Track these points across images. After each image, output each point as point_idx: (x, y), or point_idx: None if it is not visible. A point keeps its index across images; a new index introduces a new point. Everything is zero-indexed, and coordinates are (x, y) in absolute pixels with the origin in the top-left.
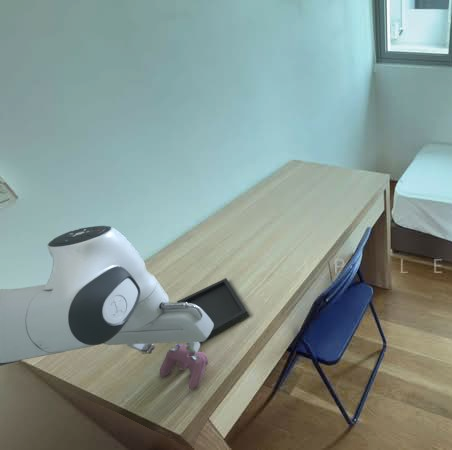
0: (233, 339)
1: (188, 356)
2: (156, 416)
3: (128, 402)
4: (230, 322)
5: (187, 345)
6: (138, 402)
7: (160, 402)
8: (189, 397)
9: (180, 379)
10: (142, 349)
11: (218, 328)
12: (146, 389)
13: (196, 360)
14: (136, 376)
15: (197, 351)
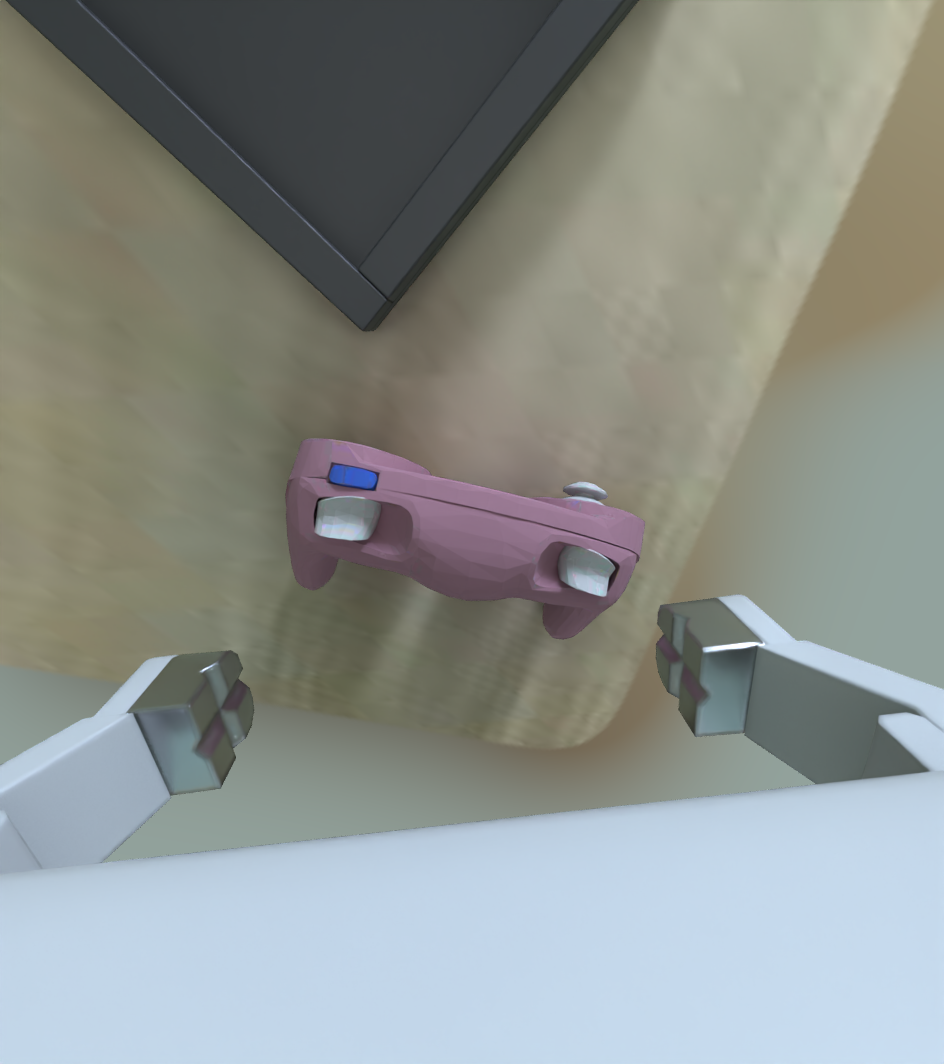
0: (650, 242)
1: (542, 580)
2: (446, 728)
3: None
4: (596, 45)
5: (699, 707)
6: (299, 688)
7: (416, 679)
8: (554, 647)
9: None
10: (181, 791)
11: (511, 147)
12: (279, 632)
13: (612, 587)
14: (140, 573)
15: (587, 525)
